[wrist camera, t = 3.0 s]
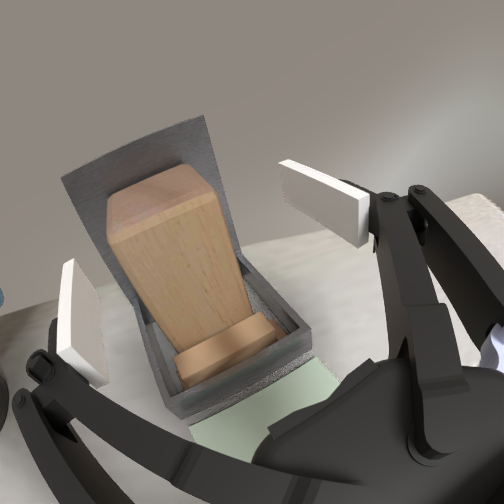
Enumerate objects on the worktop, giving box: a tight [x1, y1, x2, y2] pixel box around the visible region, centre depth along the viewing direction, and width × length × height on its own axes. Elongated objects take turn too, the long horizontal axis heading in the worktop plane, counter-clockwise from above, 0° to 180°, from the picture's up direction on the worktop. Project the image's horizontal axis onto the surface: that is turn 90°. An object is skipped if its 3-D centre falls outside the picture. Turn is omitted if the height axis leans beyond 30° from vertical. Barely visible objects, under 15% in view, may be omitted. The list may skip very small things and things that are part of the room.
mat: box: [188, 357, 340, 463], centre depth 24 cm, size 16×10×1 cm, turn 119°
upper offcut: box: [173, 311, 278, 388], centre depth 30 cm, size 11×3×2 cm, turn 119°
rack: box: [61, 115, 312, 420], centre depth 28 cm, size 17×17×24 cm
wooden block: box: [106, 164, 254, 354], centre depth 31 cm, size 10×10×20 cm
